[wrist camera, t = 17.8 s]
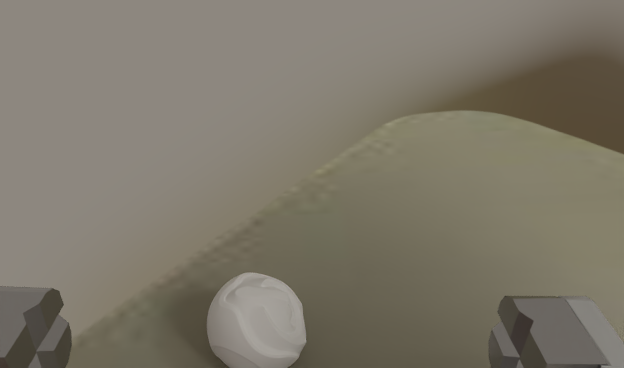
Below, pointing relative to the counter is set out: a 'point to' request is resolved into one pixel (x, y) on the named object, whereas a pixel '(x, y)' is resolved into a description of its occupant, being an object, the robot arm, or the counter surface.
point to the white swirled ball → (256, 323)
